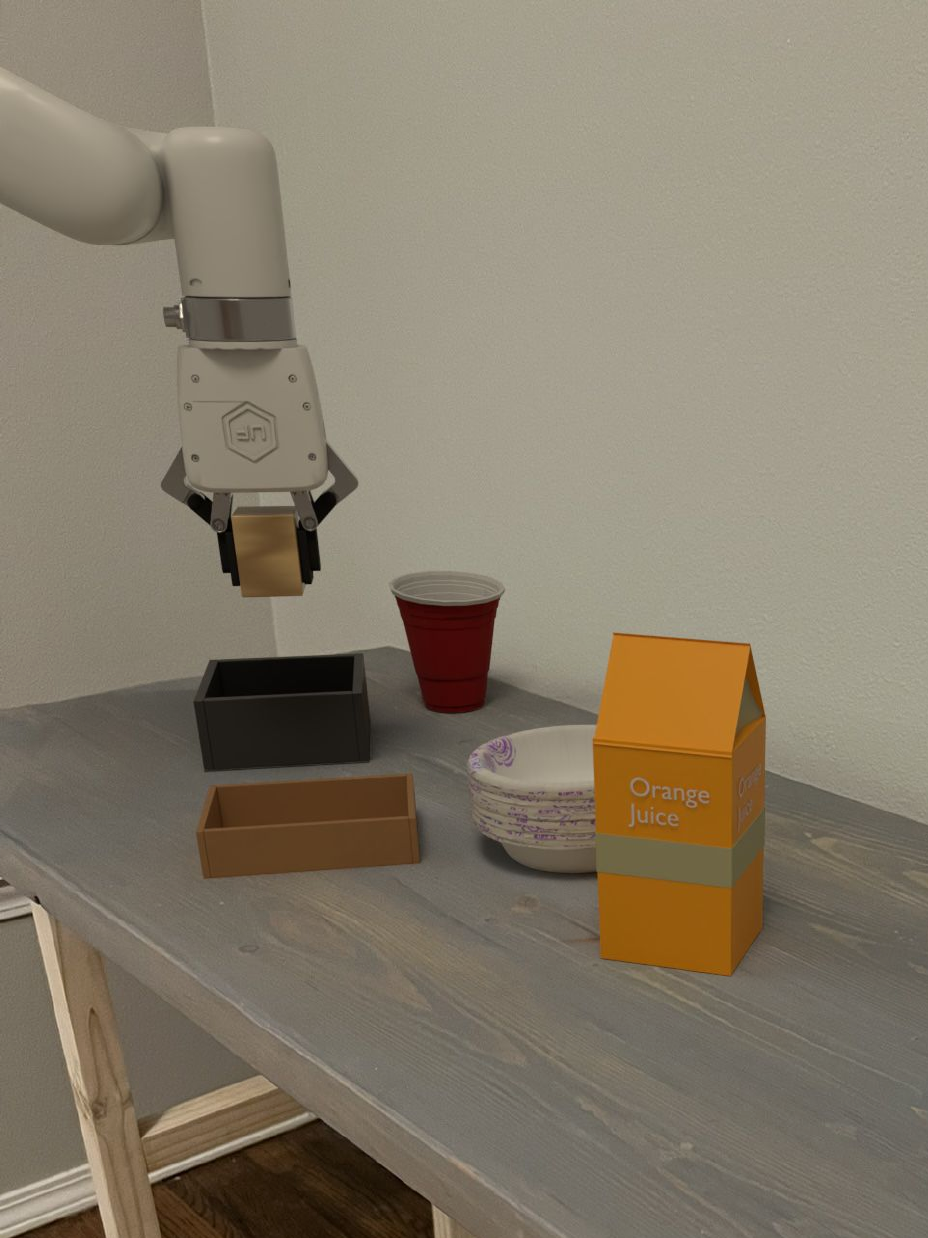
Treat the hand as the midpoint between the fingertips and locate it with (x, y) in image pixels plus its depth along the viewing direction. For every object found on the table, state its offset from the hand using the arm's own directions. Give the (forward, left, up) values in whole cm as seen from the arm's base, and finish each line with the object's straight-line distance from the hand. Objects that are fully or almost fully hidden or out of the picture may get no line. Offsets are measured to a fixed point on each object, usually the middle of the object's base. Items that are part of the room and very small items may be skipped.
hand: (273, 579), depth 115 cm
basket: (-1, +12, -17) cm, 21 cm away
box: (+2, -14, -17) cm, 22 cm away
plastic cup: (+14, +23, -17) cm, 32 cm away
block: (0, 0, -1) cm, 1 cm away
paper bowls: (+21, -18, -17) cm, 33 cm away
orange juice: (+26, -35, -17) cm, 47 cm away
